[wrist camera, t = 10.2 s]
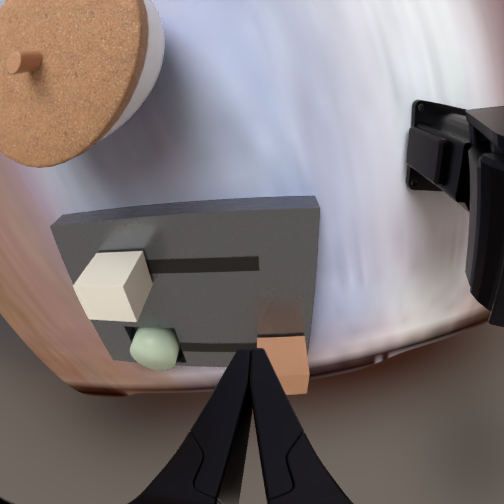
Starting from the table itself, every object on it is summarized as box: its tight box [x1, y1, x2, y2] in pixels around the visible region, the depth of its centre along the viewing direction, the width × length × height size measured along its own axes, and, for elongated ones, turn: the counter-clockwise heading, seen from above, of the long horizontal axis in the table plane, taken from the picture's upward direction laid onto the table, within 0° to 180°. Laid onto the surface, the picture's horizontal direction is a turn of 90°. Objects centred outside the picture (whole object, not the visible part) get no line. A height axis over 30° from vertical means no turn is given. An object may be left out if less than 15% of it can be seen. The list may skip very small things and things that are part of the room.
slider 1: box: [73, 251, 153, 322], centre depth 19 cm, size 4×3×4 cm
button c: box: [130, 327, 180, 371], centre depth 26 cm, size 4×4×3 cm
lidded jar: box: [0, 0, 165, 168], centre depth 11 cm, size 11×11×9 cm
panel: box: [50, 196, 320, 367], centre depth 24 cm, size 20×16×2 cm
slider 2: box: [257, 336, 310, 395], centre depth 24 cm, size 4×3×4 cm
